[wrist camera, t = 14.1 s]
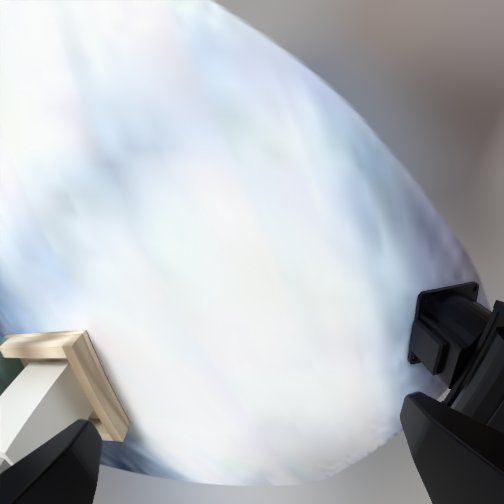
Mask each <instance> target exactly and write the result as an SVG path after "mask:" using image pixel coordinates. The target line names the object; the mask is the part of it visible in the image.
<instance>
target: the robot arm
mask: <svg viewBox="0 0 504 504" xmlns="http://www.w3.org/2000/svg"><path fill="white" fill-rule="evenodd" d="M473 288H474V289H473ZM478 290H479V285H478V284H477V283H476V282H469V283H464V284H459V285H454V286H448V287H443V288H438V289H432V290H427V291H422V292H421V293H420V294H419V295H418V299H417V306H416V314H415V320H414V322H413V328H412V334H411V340H410V346H409V348H410V349H409V354H408V361H409V362H410V364H416V363H420V362H422V363H423V364H424V365H425V366H426V368H427V369H428V370H429V371H430V372H431V373H432V374H433V375H438V376H439V378H440V379H441V380H442V381H443V382H444V383H445V385H446V386H447V387H448V388H449V389H451V390H450V392H449V393H448V395H447V397H446V398H445V400H444V401H442V402H439V401H437V400H435V399H433V398H431V397H429V396H427V395H425V394H423V393H422V392H414V393H411V394H408V395H406V397H405V399H404V402H403V406H402V409H401V413H400V421H401V424H402V427H403V430H404V433H405V436H406V439H407V442H408V445H409V448H410V451H411V455H412V458H413V460H414V463H415V465H416V467H417V470H418V472H419V474H420V476H421V479H422V481H423V483H424V485H425V487H426V490H427V492H428V494H429V497H430V499H431V501H432V503H433V504H504V302H502V301H499V300H496V302H495V304H494V306H493V308H494V309H493V312H491V311H490V310H488V309H487V308H485V307H484V306H482V305H481V304H479V303H478V302H476V301H477V295H478ZM424 297H425V299H424V300H423V298H424ZM414 357H415V358H414ZM413 358H414V359H413ZM102 446H103V441H102V438H101V436H100V434H99V432H98V430H97V429H96V427H95V425H94V423H93V422H92V421H91V420H87V419H78V420H76V421H75V422H73V423H72V424H71V425H69V426H68V427H66V428H65V429H64V430H62V431H61V432H59V433H58V434H57V435H55V436H54V437H52V438H51V439H49V440H48V441H47V442H45V443H44V444H42V445H41V446H39V447H38V448H37V449H35V450H34V451H32V452H31V453H29V454H28V455H26V456H25V457H24V458H22V459H21V460H19V461H18V462H16V463H15V464H13V465H12V466H10V467H9V468H7V469H6V470H4V471H3V472H1V474H0V504H92V503H93V499H94V495H95V491H96V486H97V481H98V474H99V466H100V459H101V452H102Z"/></svg>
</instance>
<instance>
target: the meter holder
mask: <svg viewBox="0 0 504 504" xmlns="http://www.w3.org/2000/svg"><path fill="white" fill-rule="evenodd" d="M65 361H69V363H70V366H71V368H72V370H73V372H74V374H75V376H76V378H77V380H78V382H79V383H80V385H81V387H82V389H83V391H84V393H85V395H86V396H87V398H88V400H89V402H90V404H91V405H92V407H93V410H92V412H91V414H90V416H89V418H88V420H91V421H92V422H93V423H94V425H95V427H96V429H97V430H98V432H99V434H100V436H101V438H102V440H107V441H121V442H123V441H124V438H125V436H126V433H127V430H128V427H129V425H130V421H129V420H128V418H127V416H126V414H125V412H124V411H123V409H122V407H121V405H120V403H119V401H118V399H117V397H116V395H115V394H114V392H113V390H112V388H111V386H110V384H109V381H108V379H107V377H106V375H105V373H104V371H103V369H102V367H101V364H100V362H99V360H98V358H97V356H96V353H95V351H94V349H93V346H92V344H91V342H90V339H89V337H88V334H87V332H86V330H76V331H63V332H49V333H34V334H14V335H6V336H5V337H4V338H3V339H2V340H1V341H0V396H1V395H2V393H3V392H4V391H5V390H6V389H7V388H8V387H9V385H10V384H11V383H12V382H13V381H14V380H15V379H16V377H17V376H18V375H19V374H20V373H21V372H22V371H23V370H24V369H25V368H26V366H27V365H28V364H29V363H30V362H65Z"/></svg>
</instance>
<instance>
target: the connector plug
mask: <svg viewBox="0 0 504 504" xmlns="http://www.w3.org/2000/svg"><path fill="white" fill-rule="evenodd" d="M92 410H93V407H92V405H91V404H90V402H89V400H88V398H87V396H86V395H85V393H84V391H83V389H82V387H81V385H80V383H79V382H78V380H77V378H76V376H75V374H74V372H73V370H72V368H71V366H70V363H69V361H65V362H30V363H29V364H28V365H27V366H26V368H25V369H24V370H23V371H22V372H21V373H20V374H19V375H18V376H17V377H16V379H15V380H14V381H13V382H12V383H11V384H10V385H9V387H8V388H7V389H6V390H5V391H4V392H3V393H2V395H1V396H0V474H1V472H3V471H4V470H6V469H7V468H9V467H10V466H12V465H13V464H15V463H16V462H18V461H19V460H21V459H22V458H24V457H25V456H26V455H28V454H29V453H31V452H32V451H34V450H35V449H37V448H38V447H39V446H41V445H42V444H44V443H45V442H47V441H48V440H49V439H51V438H52V437H54V436H55V435H57V434H58V433H59V432H61V431H62V430H64V429H65V428H66V427H68V426H69V425H71V424H72V423H73V422H75V421H76V420H78V419H87V420H88V418H89V416H90V414H91V412H92Z"/></svg>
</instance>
